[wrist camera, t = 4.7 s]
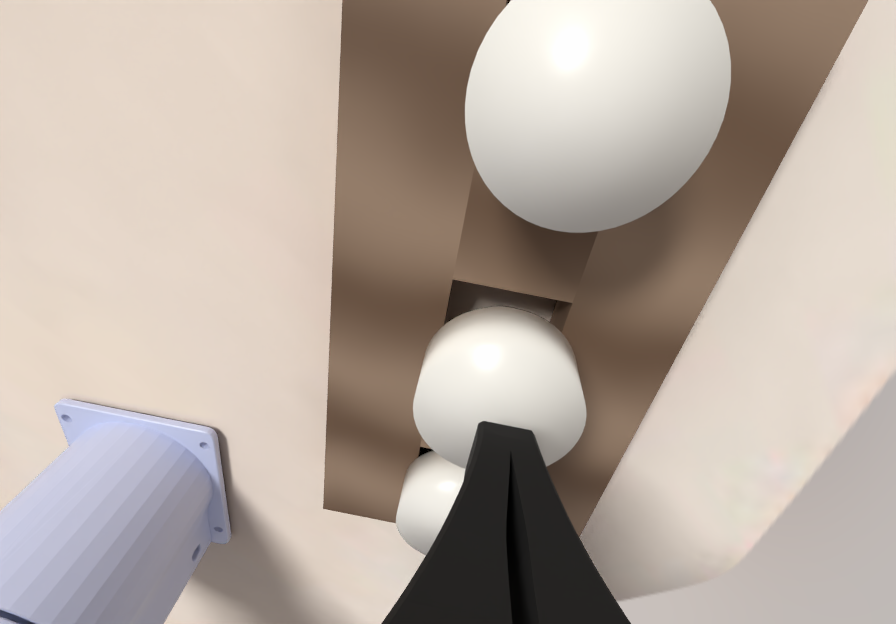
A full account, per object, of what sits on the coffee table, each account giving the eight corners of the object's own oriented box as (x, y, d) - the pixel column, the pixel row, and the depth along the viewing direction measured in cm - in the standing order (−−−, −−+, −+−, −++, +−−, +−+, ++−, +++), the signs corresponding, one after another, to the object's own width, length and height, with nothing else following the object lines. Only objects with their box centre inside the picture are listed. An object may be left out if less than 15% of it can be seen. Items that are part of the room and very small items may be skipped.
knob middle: (547, 403, 17) (557, 488, 14) (422, 379, 17) (404, 457, 14) (588, 294, 15) (612, 367, 12) (442, 265, 15) (425, 329, 12)
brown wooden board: (563, 519, 24) (568, 557, 22) (336, 474, 24) (323, 508, 22) (828, -20, 12) (883, -29, 10) (369, -110, 12) (347, -135, 10)
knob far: (500, 496, 23) (499, 571, 20) (406, 477, 23) (390, 550, 20) (524, 428, 20) (527, 502, 17) (418, 408, 21) (402, 477, 17)
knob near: (624, 199, 13) (664, 252, 10) (460, 166, 13) (446, 209, 10) (700, -1, 11) (786, -18, 7) (497, -41, 11) (494, -76, 7)
